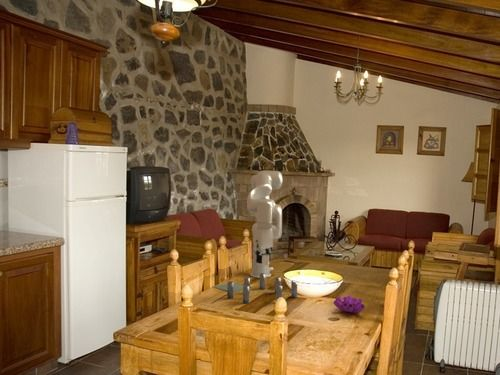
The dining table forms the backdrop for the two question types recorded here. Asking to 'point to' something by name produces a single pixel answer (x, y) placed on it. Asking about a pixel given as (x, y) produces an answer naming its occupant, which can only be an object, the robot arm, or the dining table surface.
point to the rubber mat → (236, 287)
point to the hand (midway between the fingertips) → (263, 261)
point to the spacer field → (261, 286)
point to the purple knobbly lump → (349, 304)
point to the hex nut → (264, 260)
